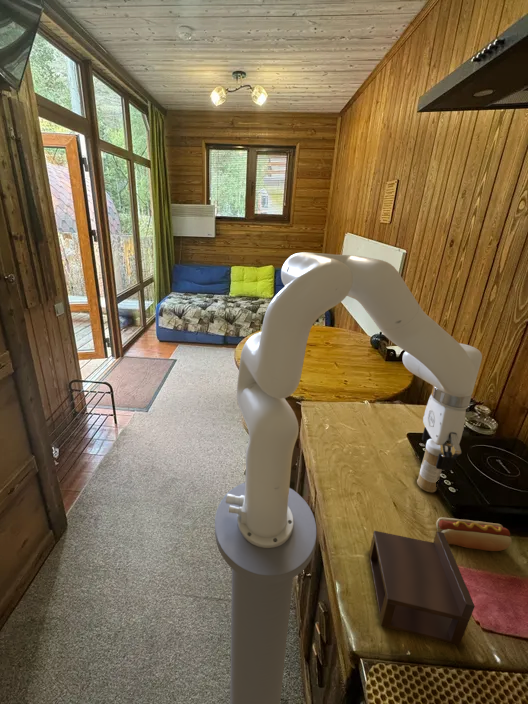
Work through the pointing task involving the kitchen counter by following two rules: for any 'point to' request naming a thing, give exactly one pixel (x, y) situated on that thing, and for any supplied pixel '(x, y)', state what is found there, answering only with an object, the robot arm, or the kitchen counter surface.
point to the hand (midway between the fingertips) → (435, 454)
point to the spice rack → (420, 587)
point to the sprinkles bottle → (430, 467)
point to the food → (474, 534)
